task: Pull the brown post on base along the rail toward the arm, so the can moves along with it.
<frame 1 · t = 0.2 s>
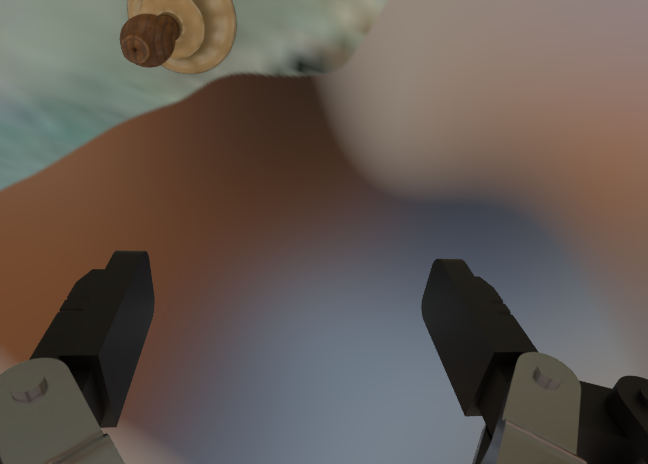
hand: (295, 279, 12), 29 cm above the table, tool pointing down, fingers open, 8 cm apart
hand bell: (183, 18, 34), on the table
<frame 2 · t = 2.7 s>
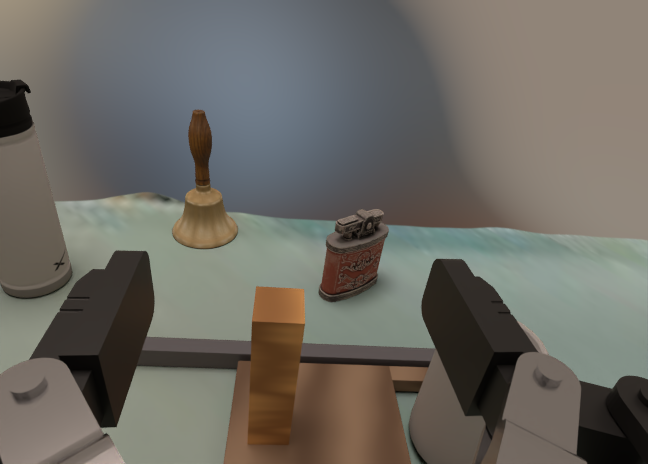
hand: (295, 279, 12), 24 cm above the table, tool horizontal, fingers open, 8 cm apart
brown post on base: (399, 383, 30), point 7 cm above the table, slide at 0.0 cm
travel mug: (40, 279, 45), on the table
can: (450, 442, 35), resting in brown post on base
hand bell: (205, 232, 56), on the table
rail: (380, 439, 34), on the table
lighter: (348, 287, 50), on the table
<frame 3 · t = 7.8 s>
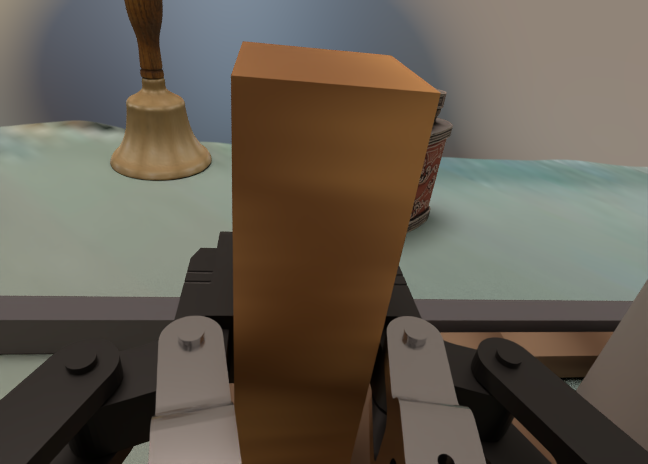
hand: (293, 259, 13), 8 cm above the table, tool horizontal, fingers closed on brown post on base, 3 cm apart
brown post on base: (608, 347, 12), point 7 cm above the table, slide at 0.0 cm, touching gripper
hand bell: (163, 162, 37), on the table
lighter: (387, 226, 32), on the table
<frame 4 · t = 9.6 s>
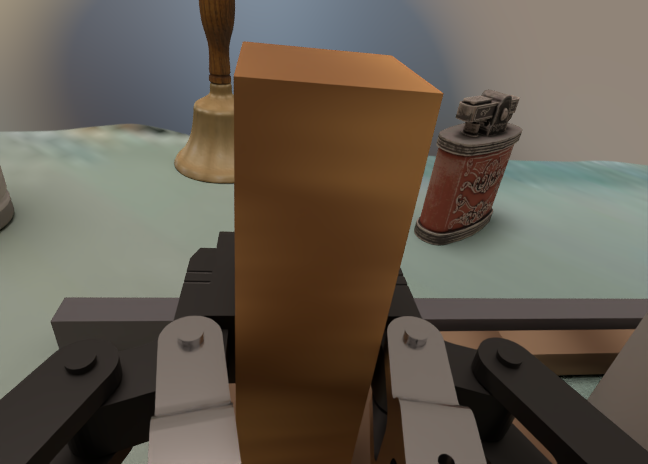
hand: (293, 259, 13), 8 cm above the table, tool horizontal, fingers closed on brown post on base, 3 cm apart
brown post on base: (607, 345, 12), point 7 cm above the table, slide at 5.5 cm, touching can, gripper
hand bell: (223, 165, 38), on the table
lighter: (452, 227, 33), on the table
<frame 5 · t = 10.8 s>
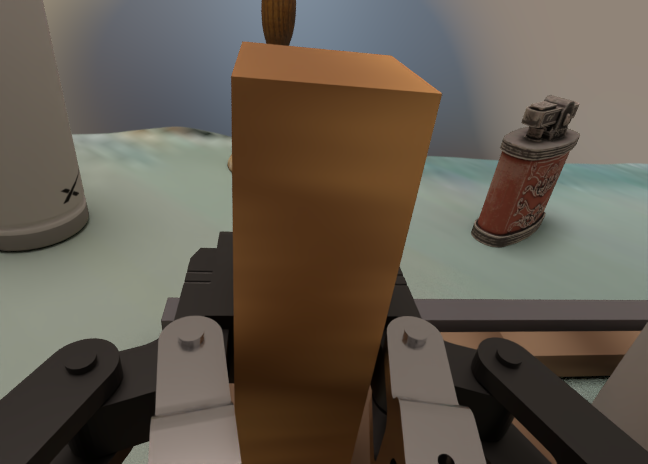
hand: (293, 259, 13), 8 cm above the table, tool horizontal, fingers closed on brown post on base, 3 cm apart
brown post on base: (608, 347, 12), point 7 cm above the table, slide at 9.8 cm, touching can, gripper
travel mug: (37, 226, 27), on the table
hand bell: (274, 168, 39), on the table
lighter: (506, 229, 33), on the table
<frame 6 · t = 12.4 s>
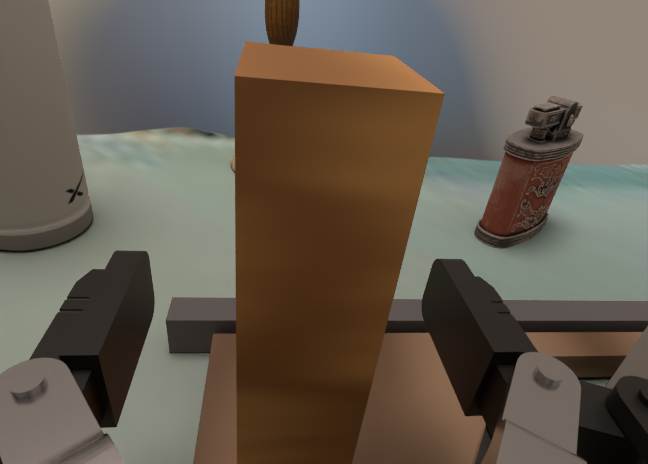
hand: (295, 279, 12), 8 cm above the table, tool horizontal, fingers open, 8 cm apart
brown post on base: (610, 347, 12), point 7 cm above the table, slide at 10.0 cm
travel mug: (42, 226, 27), on the table
hand bell: (277, 169, 39), on the table
lighter: (509, 230, 33), on the table
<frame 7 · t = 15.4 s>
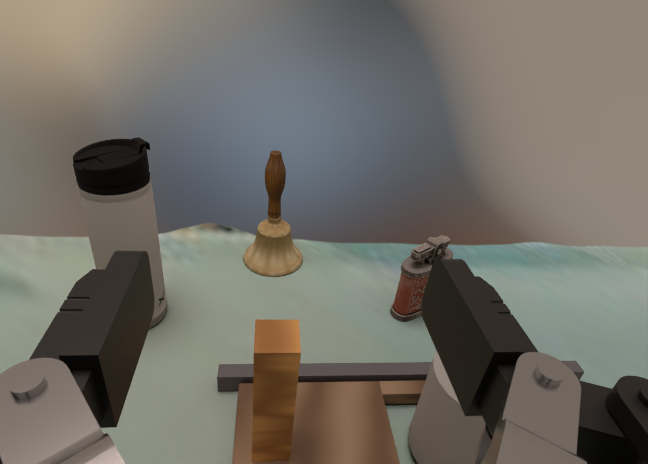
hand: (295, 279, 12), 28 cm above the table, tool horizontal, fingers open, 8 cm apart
brown post on base: (388, 398, 33), point 7 cm above the table, slide at 10.0 cm
travel mug: (140, 313, 48), on the table
can: (447, 452, 38), resting in brown post on base
hand bell: (273, 259, 60), on the table
rail: (479, 446, 38), on the table
lighter: (414, 307, 54), on the table
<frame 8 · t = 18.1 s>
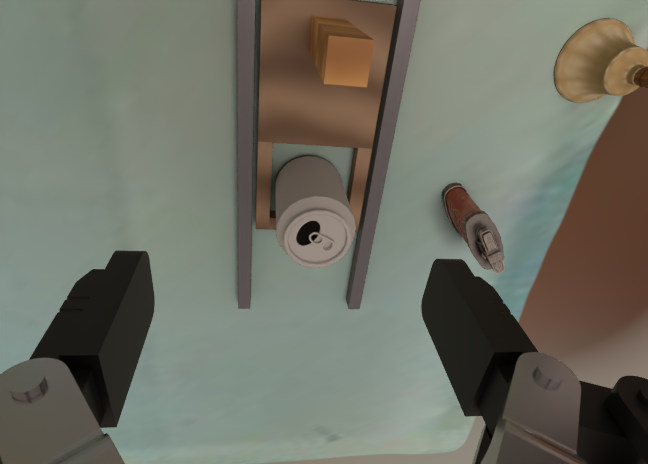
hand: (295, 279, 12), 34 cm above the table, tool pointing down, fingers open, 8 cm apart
brown post on base: (323, 151, 39), point 7 cm above the table, slide at 10.0 cm
can: (307, 183, 48), resting in brown post on base
hand bell: (591, 61, 44), on the table
rail: (308, 208, 50), on the table
lighter: (459, 208, 53), on the table
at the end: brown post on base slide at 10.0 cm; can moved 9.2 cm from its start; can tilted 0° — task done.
